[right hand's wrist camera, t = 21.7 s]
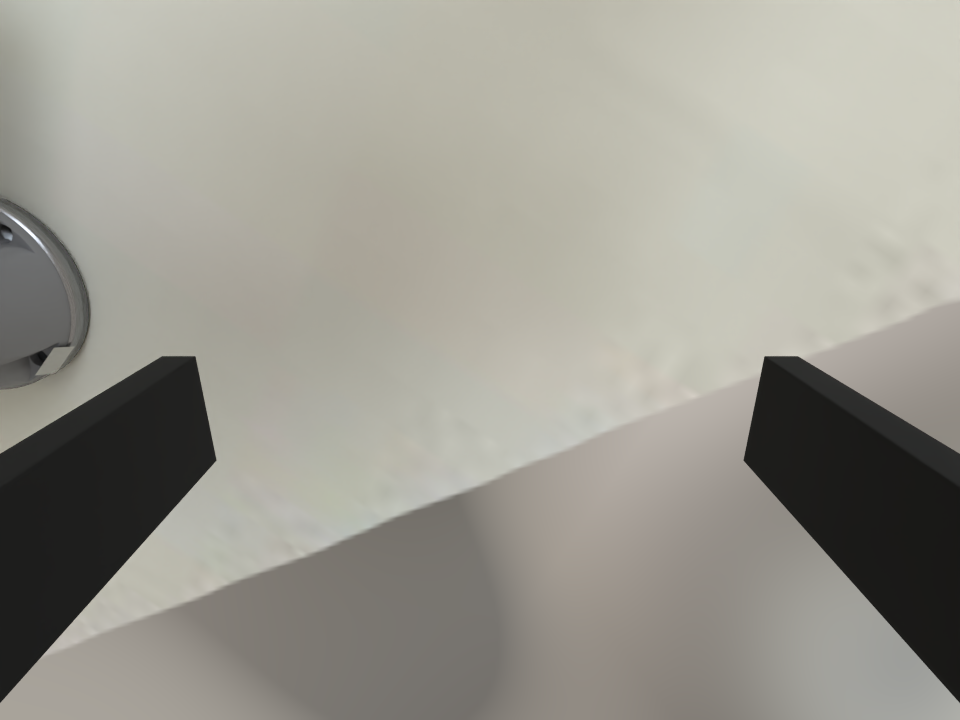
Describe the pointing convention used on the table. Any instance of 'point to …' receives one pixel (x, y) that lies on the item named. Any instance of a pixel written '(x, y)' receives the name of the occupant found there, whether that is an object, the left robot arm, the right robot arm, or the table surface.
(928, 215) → the table surface
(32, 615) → the right robot arm
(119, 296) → the table surface
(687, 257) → the table surface
